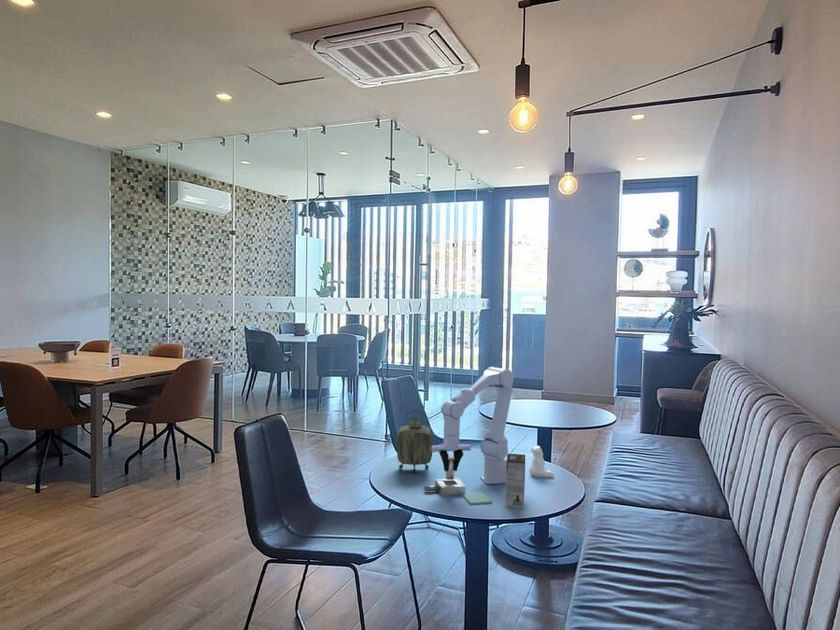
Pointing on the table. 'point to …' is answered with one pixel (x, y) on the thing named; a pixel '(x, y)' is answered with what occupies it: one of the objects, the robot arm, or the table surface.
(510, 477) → the coffee box
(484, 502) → the mat
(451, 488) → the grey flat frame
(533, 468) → the white creature statuette
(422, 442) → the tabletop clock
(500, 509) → the table surface
